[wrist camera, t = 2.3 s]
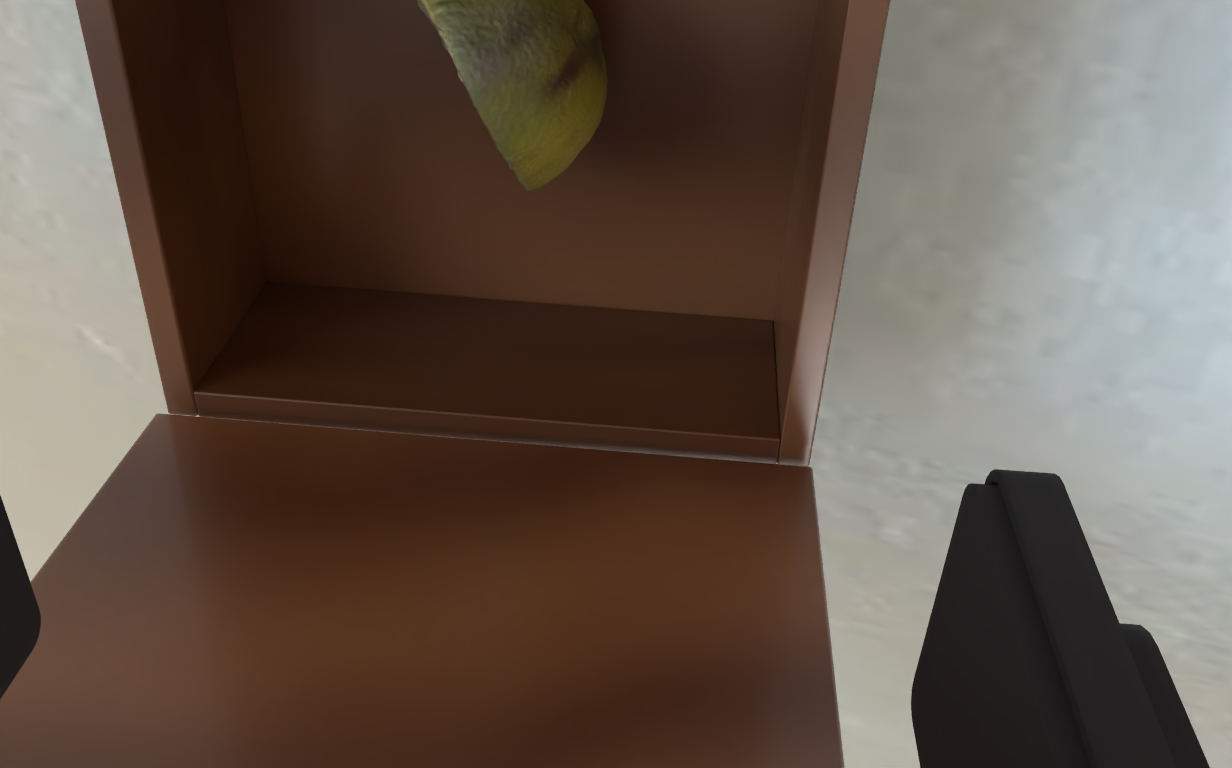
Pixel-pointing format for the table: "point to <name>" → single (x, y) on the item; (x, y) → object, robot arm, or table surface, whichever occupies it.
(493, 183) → the brown wooden open box
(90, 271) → the table surface
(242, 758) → the lid
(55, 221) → the table surface
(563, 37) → the lime
